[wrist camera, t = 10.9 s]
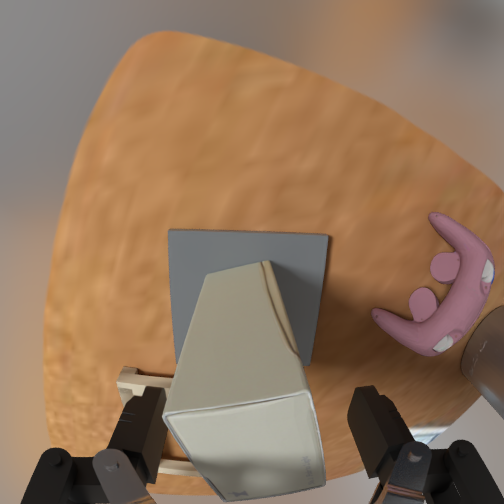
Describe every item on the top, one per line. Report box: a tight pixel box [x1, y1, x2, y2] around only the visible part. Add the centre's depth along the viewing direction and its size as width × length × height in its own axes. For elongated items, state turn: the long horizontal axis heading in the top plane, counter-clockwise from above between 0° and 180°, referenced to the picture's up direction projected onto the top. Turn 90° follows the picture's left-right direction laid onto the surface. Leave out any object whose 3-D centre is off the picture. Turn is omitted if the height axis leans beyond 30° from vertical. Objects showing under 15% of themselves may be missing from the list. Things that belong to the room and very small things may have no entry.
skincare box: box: [162, 260, 326, 502], centre depth 13 cm, size 6×4×12 cm
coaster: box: [168, 229, 328, 366], centre depth 20 cm, size 10×10×1 cm
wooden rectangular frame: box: [116, 367, 202, 477], centre depth 22 cm, size 11×13×2 cm
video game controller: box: [371, 212, 495, 356], centre depth 18 cm, size 10×5×7 cm, turn 151°
